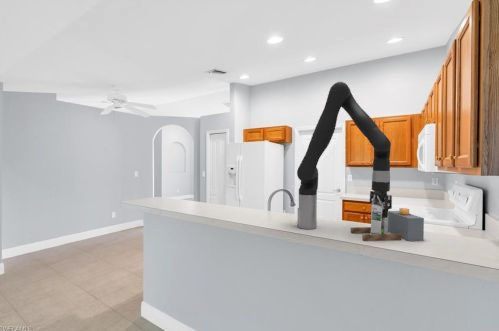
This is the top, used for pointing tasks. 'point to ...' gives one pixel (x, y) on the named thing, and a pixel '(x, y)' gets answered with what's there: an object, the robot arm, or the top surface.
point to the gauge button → (403, 211)
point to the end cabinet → (406, 226)
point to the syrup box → (378, 220)
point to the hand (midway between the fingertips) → (379, 215)
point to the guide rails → (374, 235)
